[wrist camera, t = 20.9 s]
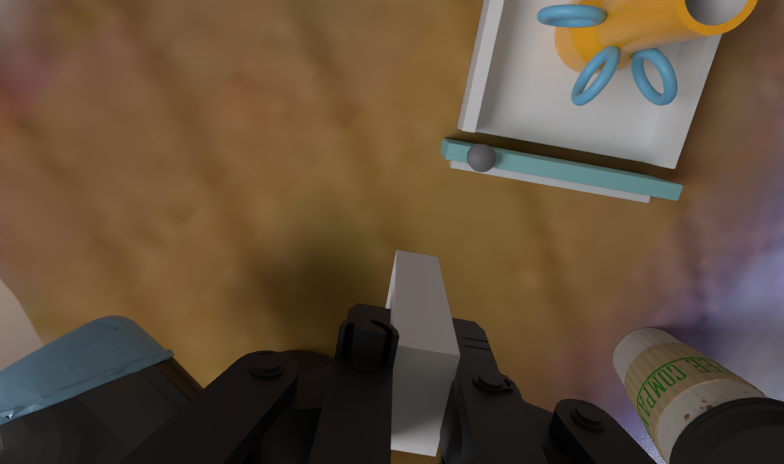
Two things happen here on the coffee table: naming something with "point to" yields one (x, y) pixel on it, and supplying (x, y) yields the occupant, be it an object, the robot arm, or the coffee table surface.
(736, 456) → the coffee cup
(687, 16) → the orange tube with rings
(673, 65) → the white square tray
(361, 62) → the coffee table surface
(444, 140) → the gate
